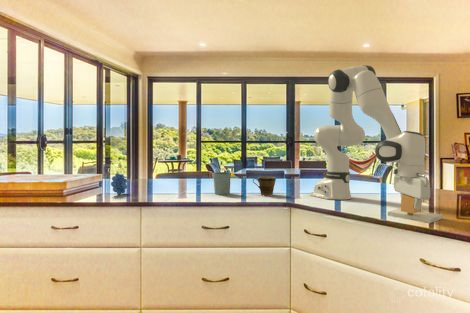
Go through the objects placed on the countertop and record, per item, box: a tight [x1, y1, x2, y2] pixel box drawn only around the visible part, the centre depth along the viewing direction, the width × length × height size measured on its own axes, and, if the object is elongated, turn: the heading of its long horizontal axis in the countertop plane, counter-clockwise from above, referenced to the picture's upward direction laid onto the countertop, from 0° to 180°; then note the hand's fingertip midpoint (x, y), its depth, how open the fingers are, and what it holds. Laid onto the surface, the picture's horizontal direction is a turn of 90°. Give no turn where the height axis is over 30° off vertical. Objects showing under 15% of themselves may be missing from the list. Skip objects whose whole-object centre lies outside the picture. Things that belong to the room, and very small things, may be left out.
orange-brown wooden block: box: [400, 195, 420, 214], centre depth 126 cm, size 5×5×6 cm
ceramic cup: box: [252, 175, 277, 197], centre depth 178 cm, size 13×10×10 cm
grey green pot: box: [212, 171, 232, 196], centre depth 180 cm, size 10×10×12 cm
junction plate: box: [387, 201, 443, 224], centre depth 129 cm, size 16×12×6 cm
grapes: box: [110, 172, 128, 196], centre depth 174 cm, size 12×7×12 cm, turn 157°
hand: (410, 206), depth 126 cm, fingers closed on orange-brown wooden block, 7 cm apart
